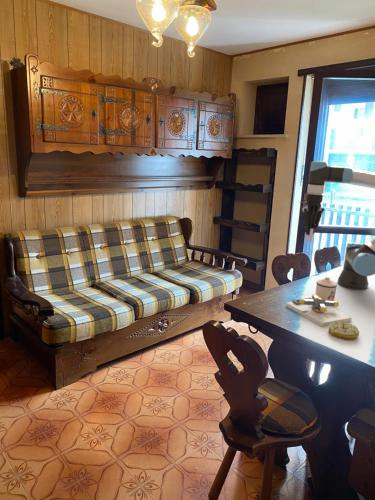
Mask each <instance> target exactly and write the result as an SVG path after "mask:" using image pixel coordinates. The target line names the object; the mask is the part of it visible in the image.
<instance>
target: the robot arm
mask: <svg viewBox="0 0 375 500" xmlns="http://www.w3.org/2000/svg"><path fill="white" fill-rule="evenodd" d="M307 183H308V185H307V193H306V196H305V197H306V198H305V199H306V200H305V201H306V204H305V206H304V207H301V209H300V210H301V213H302V226H303V227H304V228H305V235H306V236H305V241H306V242H308V243H309V242H313V235H314V232H315V230H316V229H317V228H318V227H319V224H320V221H321V218H322V215H323V213H324V211H325V208H324V207H322V202H323V198H324V195H323V194H324V190H325V185H326V184H325V183H338V184H348V185H353V186H358V187H364V188H369V189H370V188H371V189H375V172H372V171H367V170H362V169H356V168H355V169H354V168H353V167H349V166H339V165H331V166H330V165H328V161H325V160H323V161H322V160H313V161H311V162H310V169H309V176H308V182H307ZM344 256H345V257H344V262H343V269H342V271H341V272H340V275H339V276H338V278H337V284H338V285H340V286H342V287H344V288H348V289H352V290H367V289H368V288H369V281H368V277H370V276H373V275H375V235H374V236H373V237H372V238H371V239H370V240H369V241H367V242H363V243H362V242H348V243H347V244H346V247H345V255H344Z"/></svg>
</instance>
